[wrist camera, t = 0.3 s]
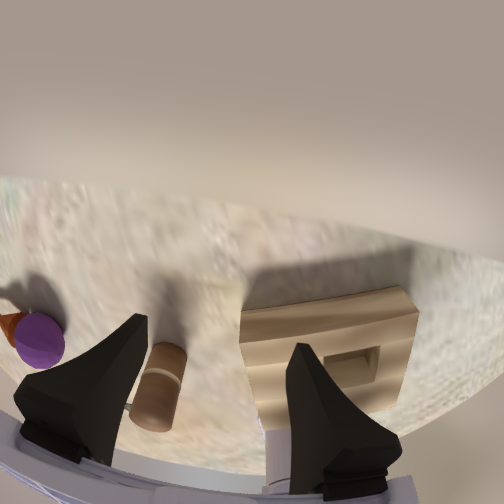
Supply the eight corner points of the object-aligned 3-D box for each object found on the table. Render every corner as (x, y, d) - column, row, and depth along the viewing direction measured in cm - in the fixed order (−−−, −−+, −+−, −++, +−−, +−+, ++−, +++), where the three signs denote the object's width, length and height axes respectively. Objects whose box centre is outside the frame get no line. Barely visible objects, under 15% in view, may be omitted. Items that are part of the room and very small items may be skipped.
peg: (192, 367, 28) (178, 433, 20) (158, 368, 28) (139, 431, 21) (181, 340, 26) (162, 409, 19) (145, 342, 26) (120, 406, 19)
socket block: (384, 380, 29) (394, 406, 25) (262, 401, 30) (263, 430, 26) (400, 285, 23) (419, 311, 20) (241, 311, 24) (239, 343, 21)
